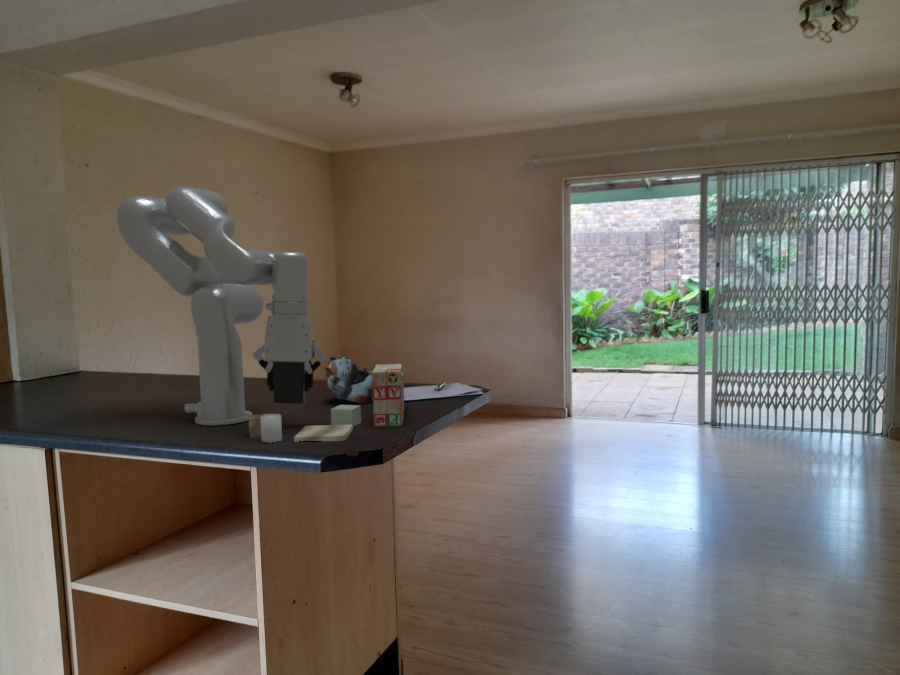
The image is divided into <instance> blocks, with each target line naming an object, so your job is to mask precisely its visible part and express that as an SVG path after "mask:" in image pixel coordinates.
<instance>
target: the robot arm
mask: <svg viewBox="0 0 900 675" xmlns="http://www.w3.org/2000/svg"><path fill="white" fill-rule="evenodd" d="M228 210H229V208H228V204H227V202H226V200H225V199H224V197H223V196H222V195H220V194H219V193H218V192H216V191H213V190H210V189H209V190H208V189H203V188H199V187H198V188H197V187H192V186H178V187H175V188H173V189H172V190H170V191H169V192H168V193H167V194H166V197H165V198H160V197H154V196H153V197H152V196H148V195H147V196H146V195H145V196H144V195H141V196H140V195H139V196H132V197H129V198H126V199H124V200H123V201H122V202H121V203H120V205H119V206H118V208H117V212H116V218H117V219H116V221H117V226H118V230H119V233H120V235H121V237H122V239H123V241H124V242H125V244H126V245H127V246H128V248H129V249H131V251H132V252H134V254H136V255H137V256H138V257H139V258H140V259H141V260H143V261H144V262H145V263H147V265H149V266H150V268H152V270H153V271H155V273H157V274H158V275H159V276H160V278H162V279H163V280H164V282H166V283H167V285H169V286H170V287H171V288H172V289H173V290H174V291H175V292H176V293H178V294H179V295H180V296H184V297H191V299H190V312H191V316H192V319H193V324H194V327H195V333H196V341H197V356H198V370H199V386H200V387H199V388H200V401H198V402H197V403H185V404H184V411H185V413H186V414H188V413H189V414H191V413H195V414H196V415H197V416H195V417H194V423H195V424H196V425H199V426H227V425H233V424H239V423H243V422H247V421H249V416H248V415H253V412H252V411H250V410H246V402H245V385H244V383H245V382H244V364H243V363H244V362H243V347H242V344H243V343H242V341H241V337H240V334H239V332H238V330H237V328H236V326H235V325H240V324H248V323H252V322H255V321H256V320H257V319H258V318H260V316H262V313H263V311H264V300H263V297H262V294H261V293H260V291H259V290H258V289H257V287H255V285H257V286H258V285H259V286H271V287H272V288H271V290H272V291H271V292H272V294H271V296H272V298H271V299H272V300H271V301H270V302H268V303H265V309H266V310H269V311H270V312H271V315H270V314H269V315H268V316H267V319H266V327H265V336H264V344H263V345H261V347H259V348H257V350H255V351H254V352H253V353H252V356H253V358H254V359H255V360H256V361H257V362H258V364H259V365H260V367H262V369H264V371H265V372H266V375H267V376H266V379H267V380H266V382H267V383H266V384H267V387H268V389H269V392H271V391H272V392H274V387H273V362H299V363H302V362H304V367H305V369H306V374H305V375H304V391H305V393H308V392H310V390H311V389H312V388H314V372H315V371H316V370H317V369H318V368H319V367H320V366H321V365H322V364H323V363H324V361H326V359H327V358H328V354H327V353H326V352H325V351H324V350H322V349H321V348H320V347H319V346H318V345H317V344H315V333H314V326H313V320H312V316H311V315H309V257H308V256H307V255H306V254H305V253H303V252H298V251H297V252H296V251H278V252H277V251H271V250H259V249H245V248H243V247H241V246H240V245H239V244H237V243H236V242H235V241H234V240H232V238H233V237H234V235H235V230H236V224H235V221H234V220H233V219H232V217H231V216H229V215H228V213H229V212H228ZM188 234H191V235H192V236H194V237H195V238H196V239H197V240H199V241H200V242H201V243H202V244H203V250H204V253H205V256H198V255H196V254H195V255H194V254H192V253H191V252H190V251H188V250H187V249H186V248H184V247H183V245H182V244H181V243H180V242H178V241H177V240H176V239H174V238H172V237H171V236H172V235H174V236H180V235H181V236H183V235H188ZM170 235H171V236H170ZM263 354H264V356H263ZM315 354H316V356H318V358H317V359H316V360H315V361H314V363H313V362H312V360H313V358H315ZM311 391H312V390H311Z"/></svg>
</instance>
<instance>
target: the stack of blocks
mask: <svg viewBox="0 0 900 675" xmlns="http://www.w3.org/2000/svg"><path fill="white" fill-rule="evenodd" d="M402 368H403V367H402V363H389V364H388V363H387V364H385V363H384V364H375V367H374V368H373V370H372V371H371V372H372V385H373V387H372V389H373V400H372V404H373V405H372V406H373V408H372V410H373V411H372V412H373V414H372V417H373V419H372V420H373V428H382V427H383V428H384V427H385V428H386V427H388V428H389V427H402V426H403V424H404V423H403V422H404V412H405V388H404V387H405V385H404V384H405V383H404V372H403V371H402V370H403V369H402Z"/></svg>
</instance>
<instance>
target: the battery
mask: <svg viewBox="0 0 900 675" xmlns="http://www.w3.org/2000/svg"><path fill="white" fill-rule="evenodd" d="M305 374H306V369H305V367H304V362H302V363H299V362H273V387H274V390H273V399H272V400H273V403H276V404H286V405H287V404H294V405H295V404H304V403H305V402H306V392H305V391H304V375H305Z"/></svg>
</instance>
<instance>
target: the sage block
mask: <svg viewBox="0 0 900 675" xmlns="http://www.w3.org/2000/svg"><path fill="white" fill-rule="evenodd" d="M330 423H331V424H330V425H353V428H354V427H355V426H358V425H359V424H361V423H362V406H361V405H360V404H357V405H356V404H339V405H337V406H335V407H333V408H330Z"/></svg>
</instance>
